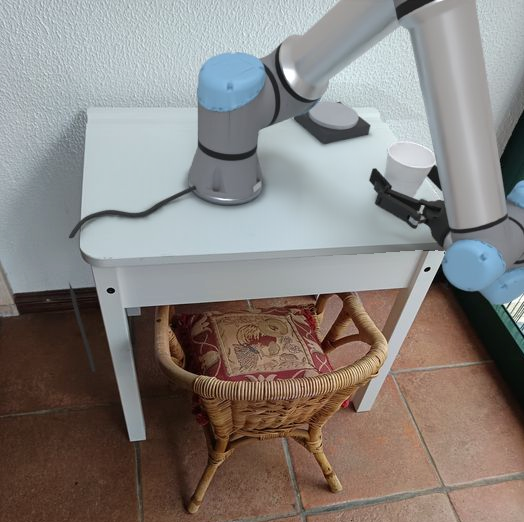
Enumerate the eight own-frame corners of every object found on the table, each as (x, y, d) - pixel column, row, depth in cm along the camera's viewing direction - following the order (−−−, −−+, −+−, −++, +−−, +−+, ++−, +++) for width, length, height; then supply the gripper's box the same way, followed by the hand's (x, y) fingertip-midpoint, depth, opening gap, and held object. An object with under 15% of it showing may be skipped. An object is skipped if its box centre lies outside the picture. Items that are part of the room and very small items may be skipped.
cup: (415, 192, 108) (433, 145, 99) (419, 218, 102) (440, 171, 93) (370, 185, 108) (386, 137, 99) (372, 211, 101) (389, 163, 93)
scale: (323, 144, 117) (326, 130, 114) (294, 118, 123) (296, 105, 121) (368, 134, 122) (371, 121, 120) (337, 110, 129) (340, 97, 126)
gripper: (395, 261, 88) (343, 193, 100) (503, 241, 95) (443, 180, 107) (409, 227, 82) (352, 159, 94) (523, 208, 89) (457, 148, 101)
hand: (400, 170), depth 100 cm, fingers open, 13 cm apart
